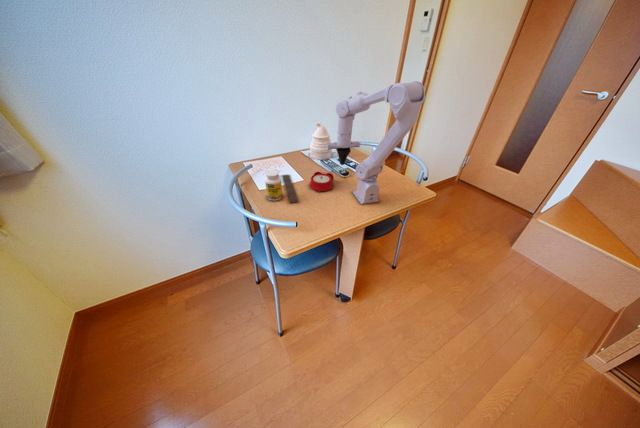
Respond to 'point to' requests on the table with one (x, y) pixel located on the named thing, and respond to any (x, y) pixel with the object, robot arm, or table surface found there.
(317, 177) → the alarm clock
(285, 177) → the ruler
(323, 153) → the honey pot
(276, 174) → the pill bottle
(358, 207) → the table surface
